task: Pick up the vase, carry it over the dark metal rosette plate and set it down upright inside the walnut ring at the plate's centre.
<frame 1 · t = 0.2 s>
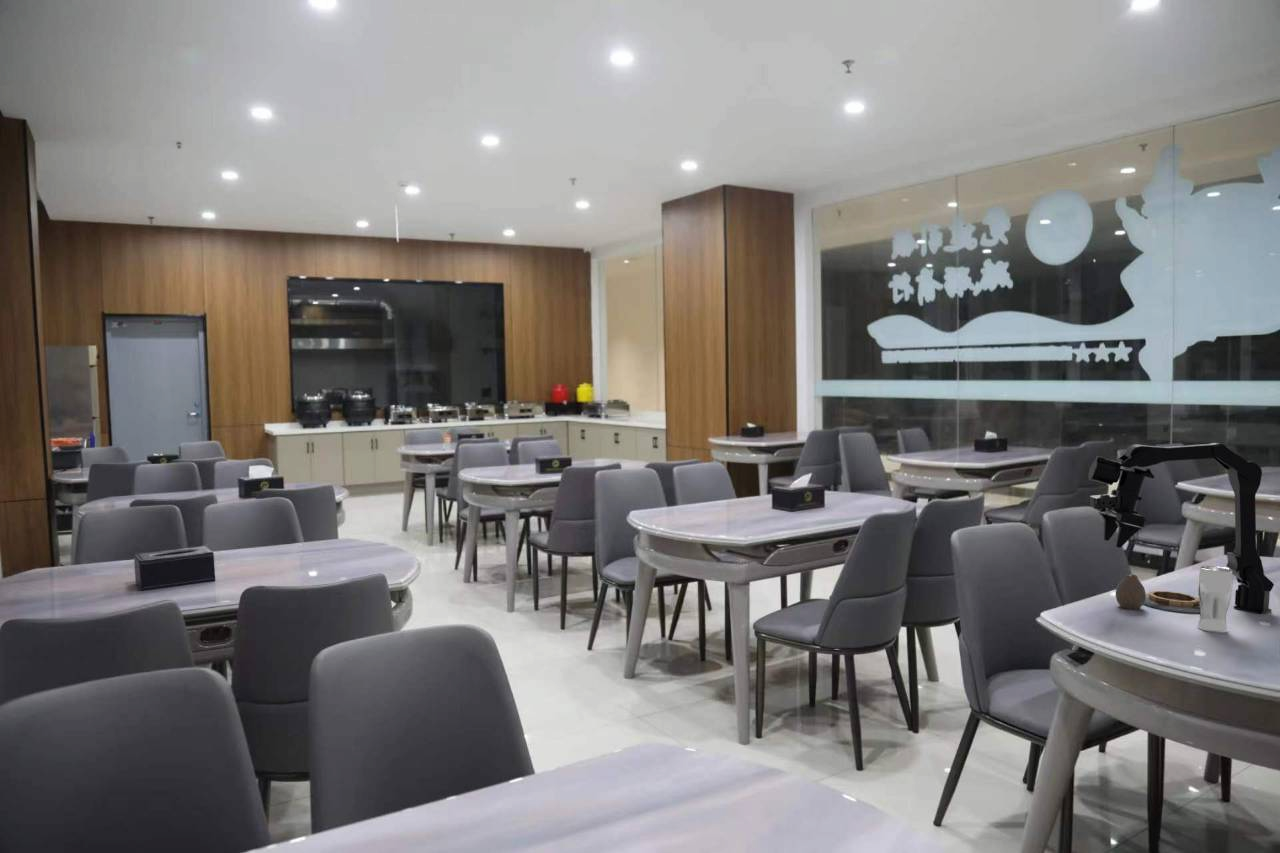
hand: (1112, 543, 236), 15 cm above the table, tool pointing down, fingers open, 9 cm apart
beer glass: (1212, 630, 208), on the table
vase: (1129, 608, 227), on the table
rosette: (1173, 604, 231), on the table
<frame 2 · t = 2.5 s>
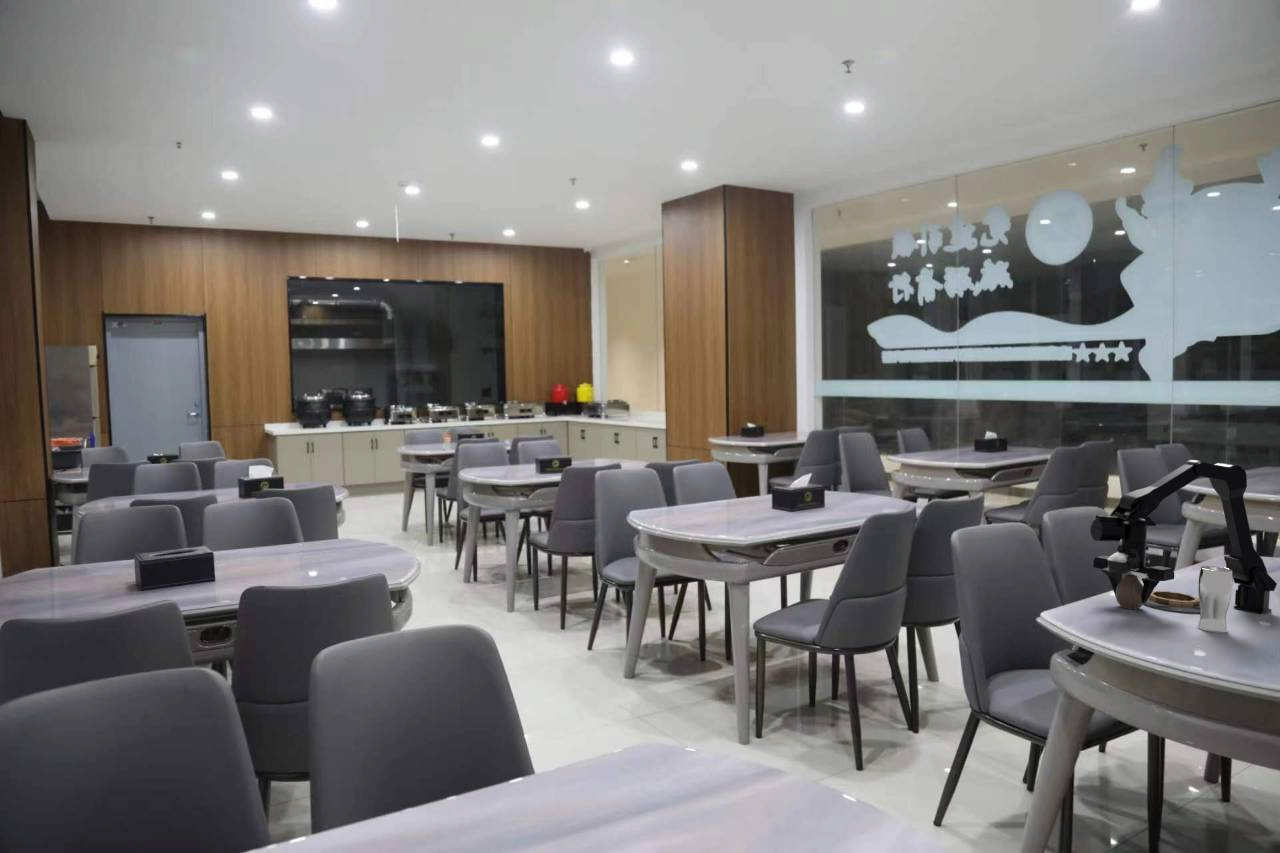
hand: (1130, 600, 227), 2 cm above the table, tool pointing down, fingers closed on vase, 7 cm apart
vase: (1129, 608, 227), on the table, touching gripper
everything else where it was.
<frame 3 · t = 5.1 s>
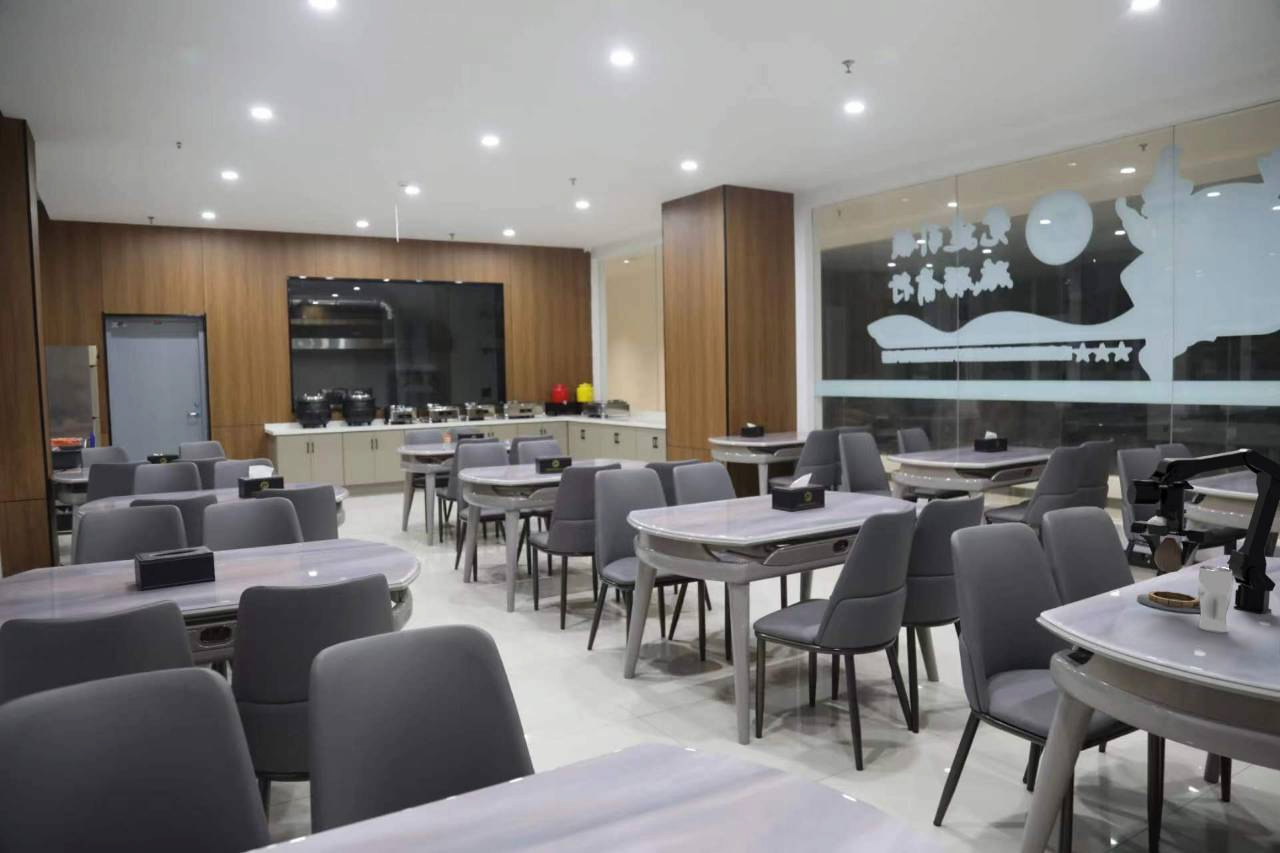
hand: (1169, 563, 229), 11 cm above the table, tool pointing down, fingers closed on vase, 7 cm apart
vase: (1168, 571, 230), point 9 cm above the table, touching gripper
everything else where it was.
when the fingers open (4 cm above the table, at t = 7.7 s): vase drops 1 cm, resting on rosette.
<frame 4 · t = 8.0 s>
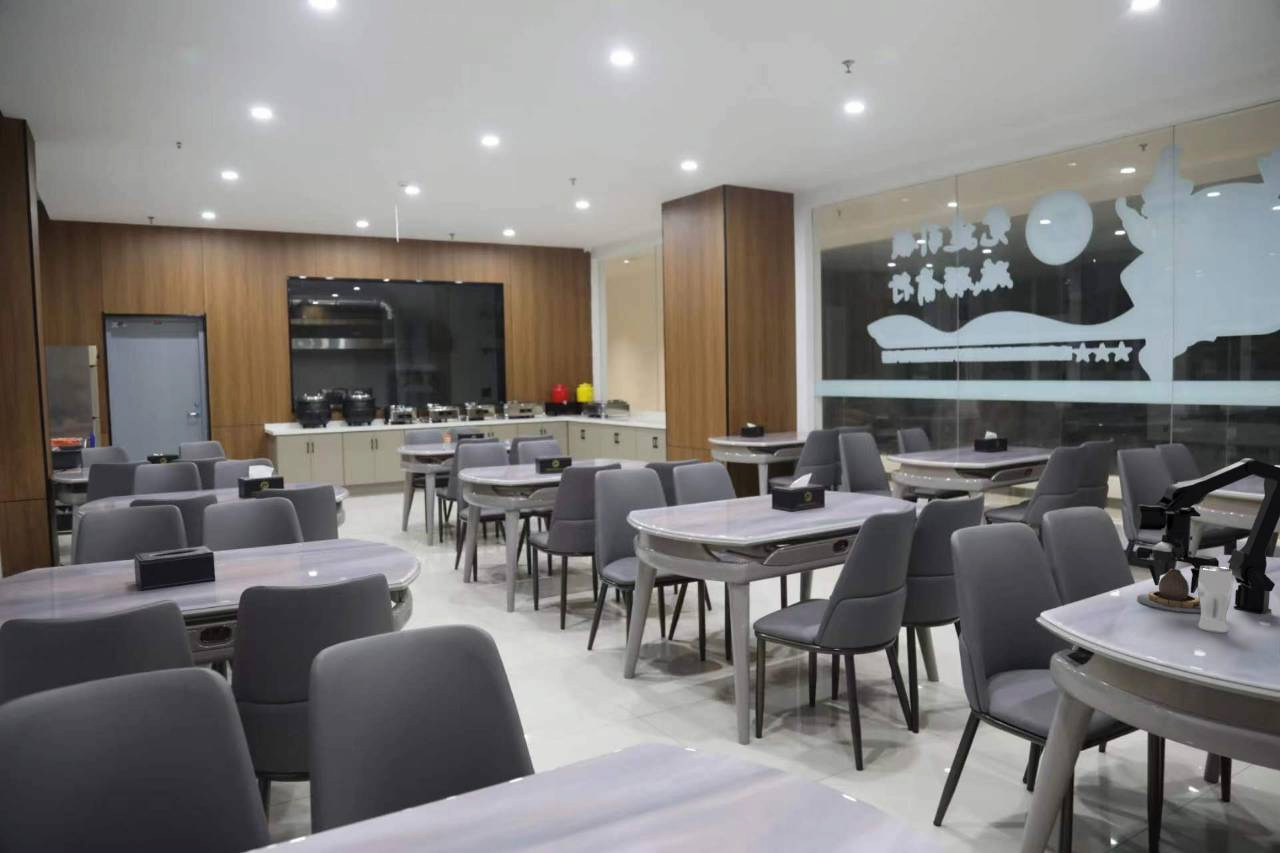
hand: (1174, 589, 231), 4 cm above the table, tool pointing down, fingers open, 9 cm apart
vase: (1172, 602, 231), point 1 cm above the table, touching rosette
everything else where it was.
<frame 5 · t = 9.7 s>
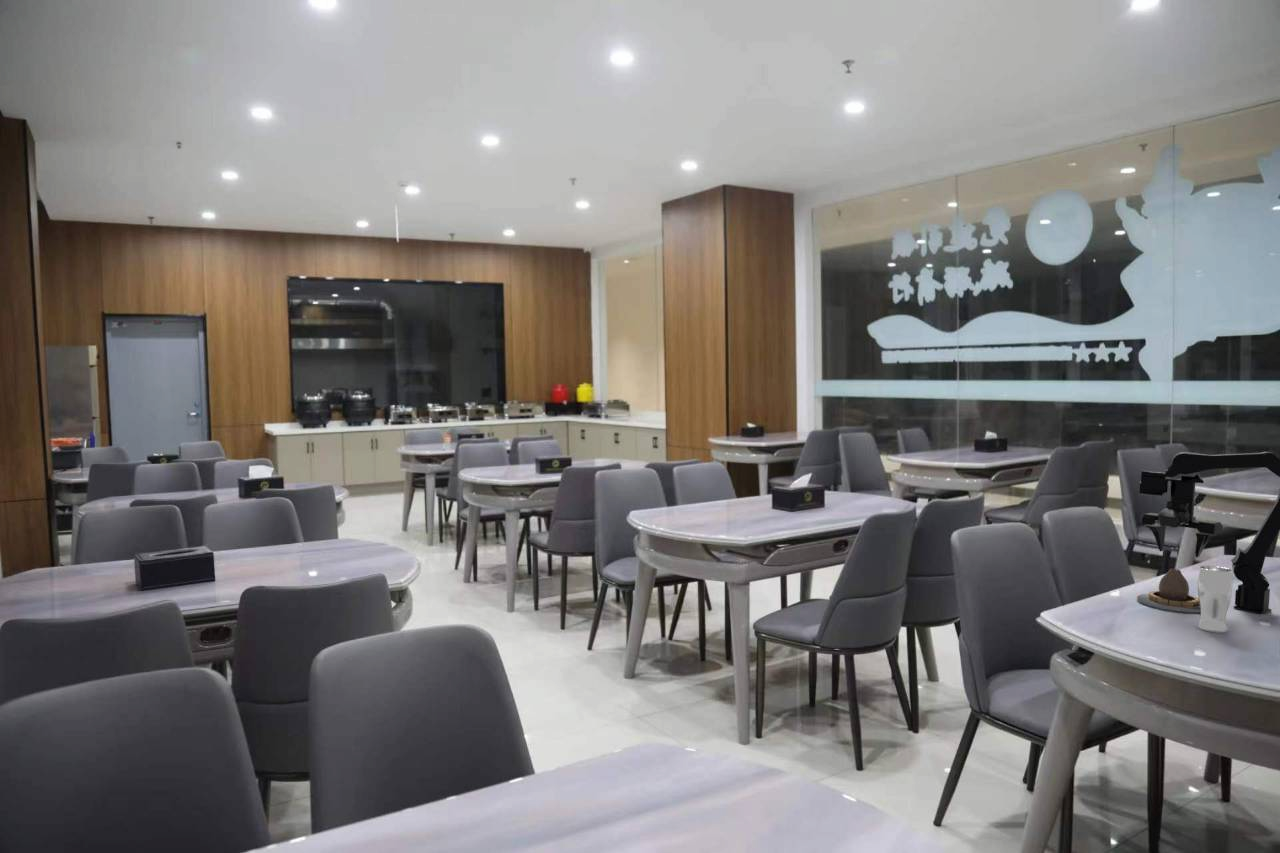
hand: (1178, 554, 235), 13 cm above the table, tool pointing down, fingers open, 9 cm apart
nothing on the table moved.
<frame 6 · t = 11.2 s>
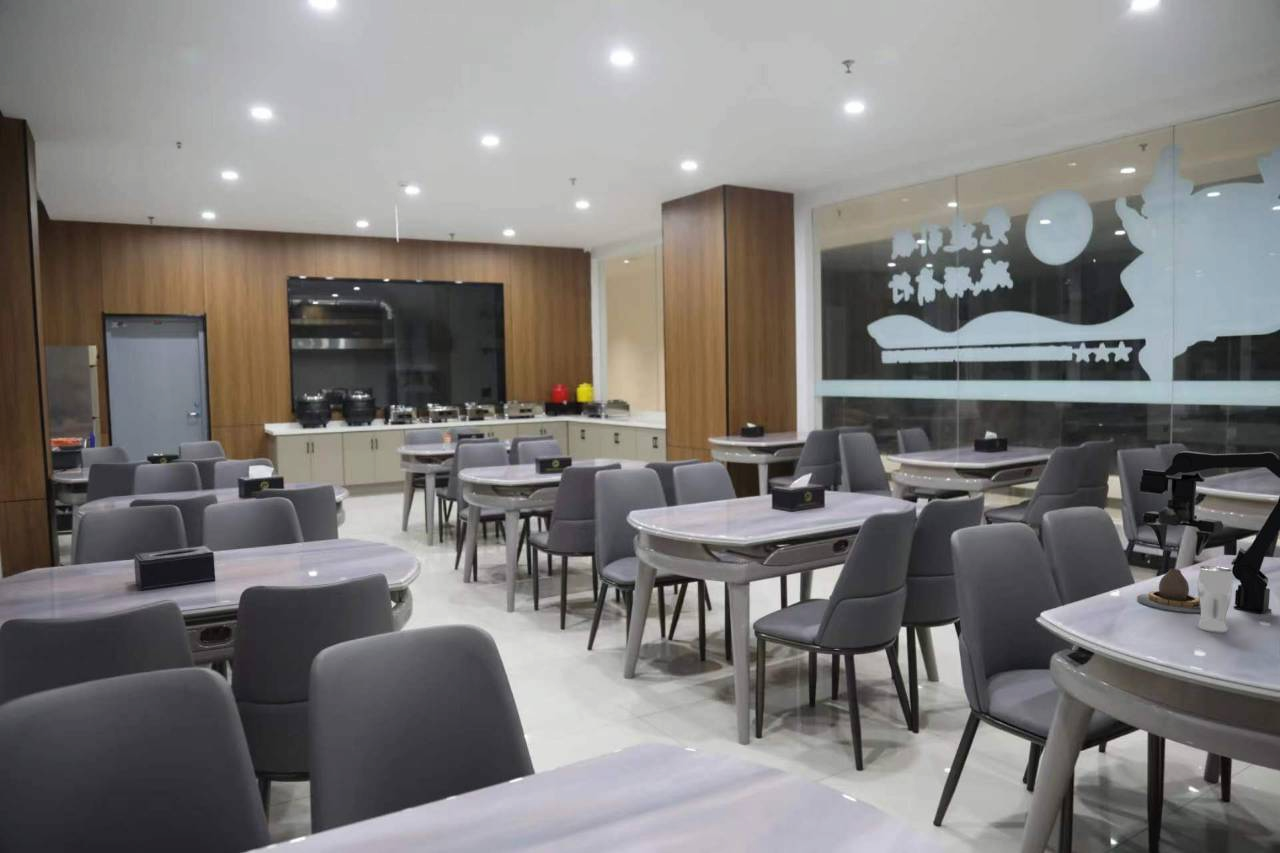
hand: (1179, 552, 237), 13 cm above the table, tool pointing down, fingers open, 9 cm apart
nothing on the table moved.
at the end: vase 0.2 cm off-centre on the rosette, point 0.6 cm above the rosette's base; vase tilted 0°; the gripper is holding nothing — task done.
